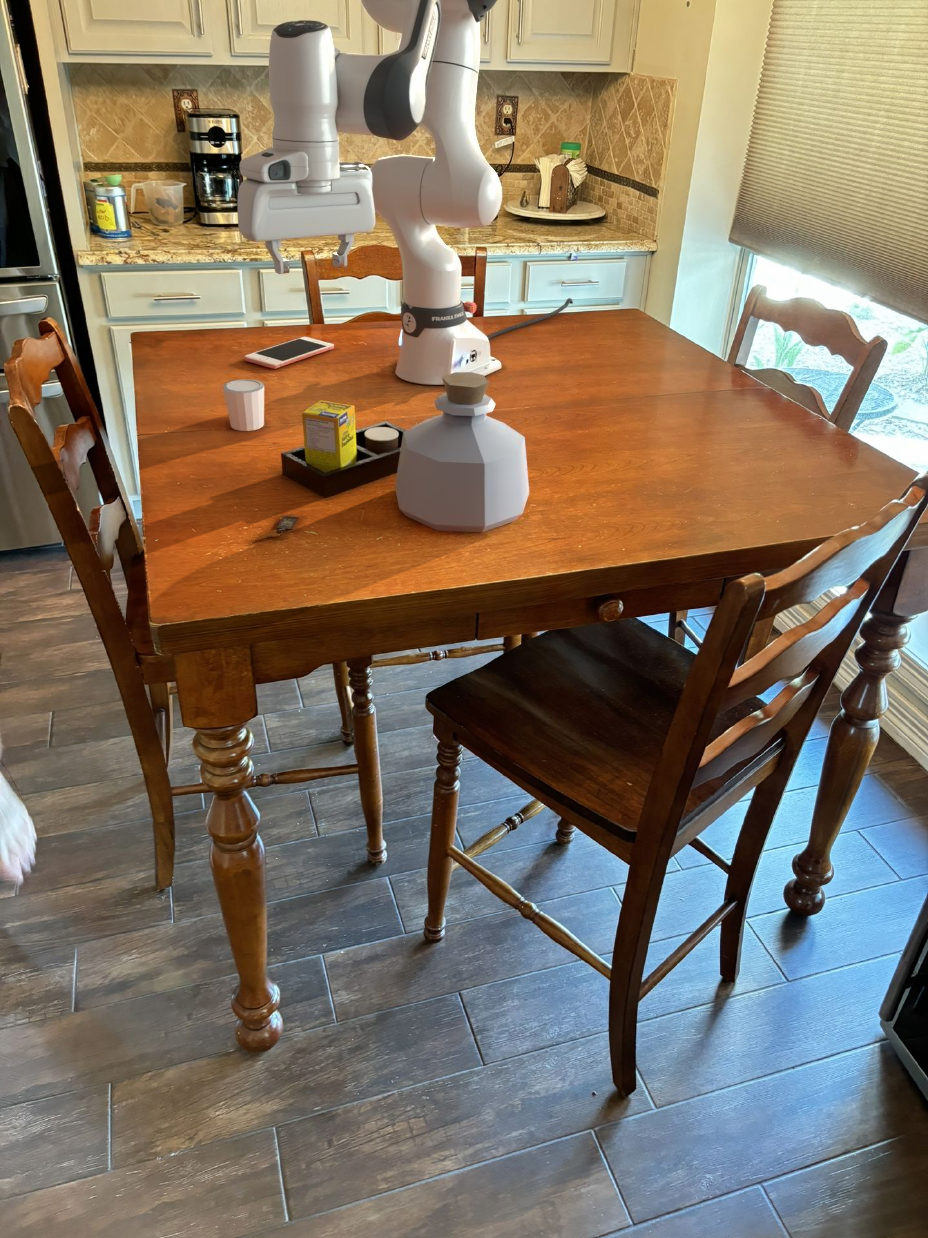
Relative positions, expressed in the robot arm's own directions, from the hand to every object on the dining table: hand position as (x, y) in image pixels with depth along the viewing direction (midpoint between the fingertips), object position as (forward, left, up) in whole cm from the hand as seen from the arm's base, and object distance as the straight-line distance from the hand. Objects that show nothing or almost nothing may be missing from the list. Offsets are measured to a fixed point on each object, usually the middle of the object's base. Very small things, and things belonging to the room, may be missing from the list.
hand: (311, 269), depth 131 cm
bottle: (-5, +27, -29) cm, 40 cm away
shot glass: (+2, -19, -29) cm, 35 cm away
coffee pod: (-7, +7, -29) cm, 31 cm away
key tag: (+20, +16, -29) cm, 38 cm away
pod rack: (-2, +7, -29) cm, 30 cm away
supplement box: (+3, +7, -29) cm, 30 cm away
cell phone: (-26, -46, -29) cm, 61 cm away
